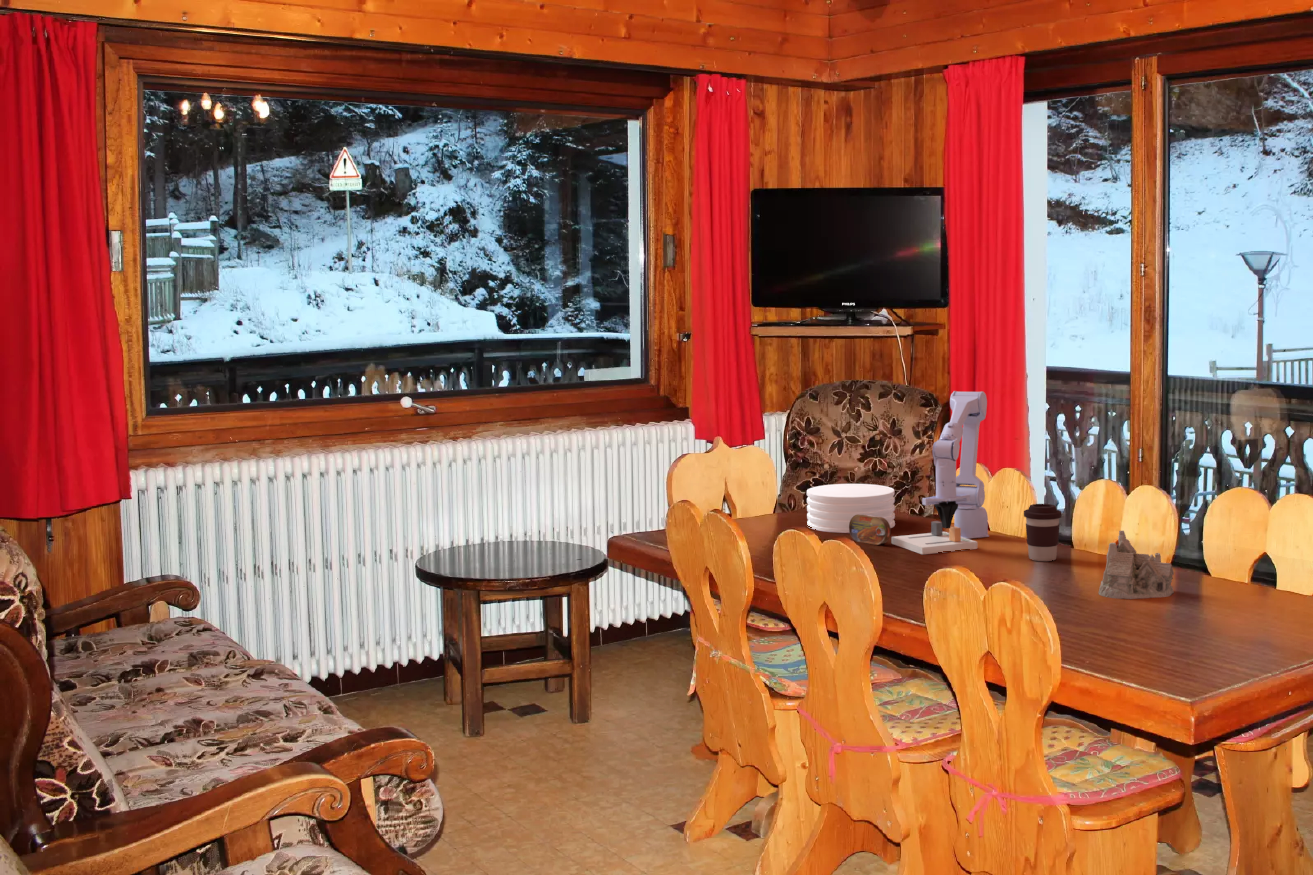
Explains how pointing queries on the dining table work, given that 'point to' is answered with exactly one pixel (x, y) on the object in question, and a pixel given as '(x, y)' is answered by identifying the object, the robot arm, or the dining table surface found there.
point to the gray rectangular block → (936, 528)
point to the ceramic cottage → (1134, 573)
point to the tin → (869, 529)
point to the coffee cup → (1042, 531)
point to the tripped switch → (955, 534)
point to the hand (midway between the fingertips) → (946, 527)
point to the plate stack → (847, 505)
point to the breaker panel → (932, 543)
